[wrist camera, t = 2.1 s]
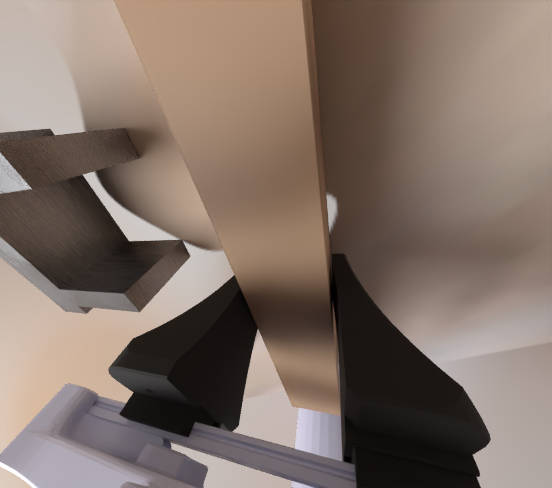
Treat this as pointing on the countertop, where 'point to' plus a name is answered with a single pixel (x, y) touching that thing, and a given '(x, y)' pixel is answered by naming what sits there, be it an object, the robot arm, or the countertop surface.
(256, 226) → the rail
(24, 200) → the bracket
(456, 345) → the countertop surface
